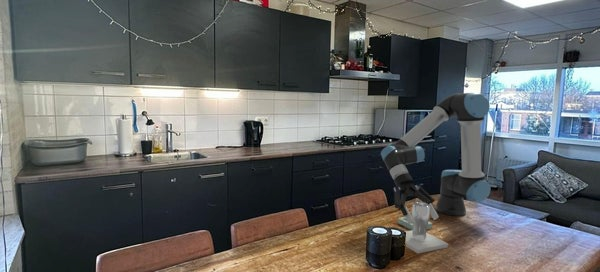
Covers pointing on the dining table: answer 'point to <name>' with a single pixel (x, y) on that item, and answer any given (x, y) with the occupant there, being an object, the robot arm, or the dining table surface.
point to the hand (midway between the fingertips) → (424, 220)
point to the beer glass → (420, 220)
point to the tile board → (424, 243)
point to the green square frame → (404, 222)
